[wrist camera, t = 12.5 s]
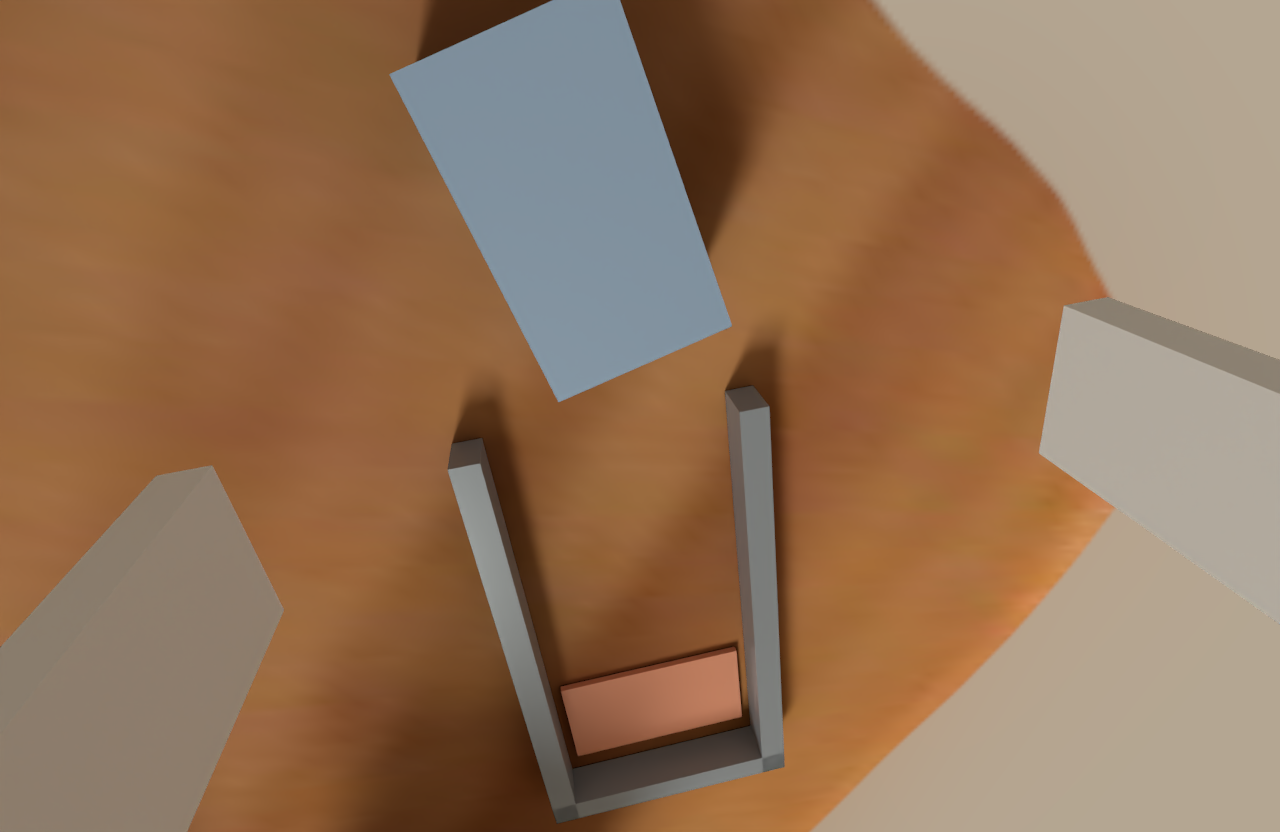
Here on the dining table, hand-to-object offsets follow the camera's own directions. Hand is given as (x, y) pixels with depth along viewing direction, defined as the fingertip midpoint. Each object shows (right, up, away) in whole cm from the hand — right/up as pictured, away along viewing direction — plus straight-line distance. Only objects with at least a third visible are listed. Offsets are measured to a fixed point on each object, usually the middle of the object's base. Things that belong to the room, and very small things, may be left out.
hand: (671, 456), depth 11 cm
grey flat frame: (0, -9, +22) cm, 24 cm away
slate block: (-3, +9, +13) cm, 16 cm away
